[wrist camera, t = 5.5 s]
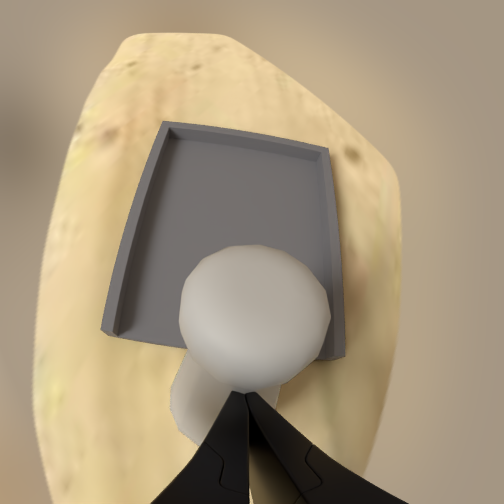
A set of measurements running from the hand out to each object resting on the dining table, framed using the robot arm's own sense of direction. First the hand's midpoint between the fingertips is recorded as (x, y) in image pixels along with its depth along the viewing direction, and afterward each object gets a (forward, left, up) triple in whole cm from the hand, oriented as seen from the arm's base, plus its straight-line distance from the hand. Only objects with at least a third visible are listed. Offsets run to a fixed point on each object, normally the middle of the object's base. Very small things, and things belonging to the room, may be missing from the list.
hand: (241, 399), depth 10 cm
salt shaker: (-1, 0, -9) cm, 9 cm away
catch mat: (+12, 0, -9) cm, 15 cm away
